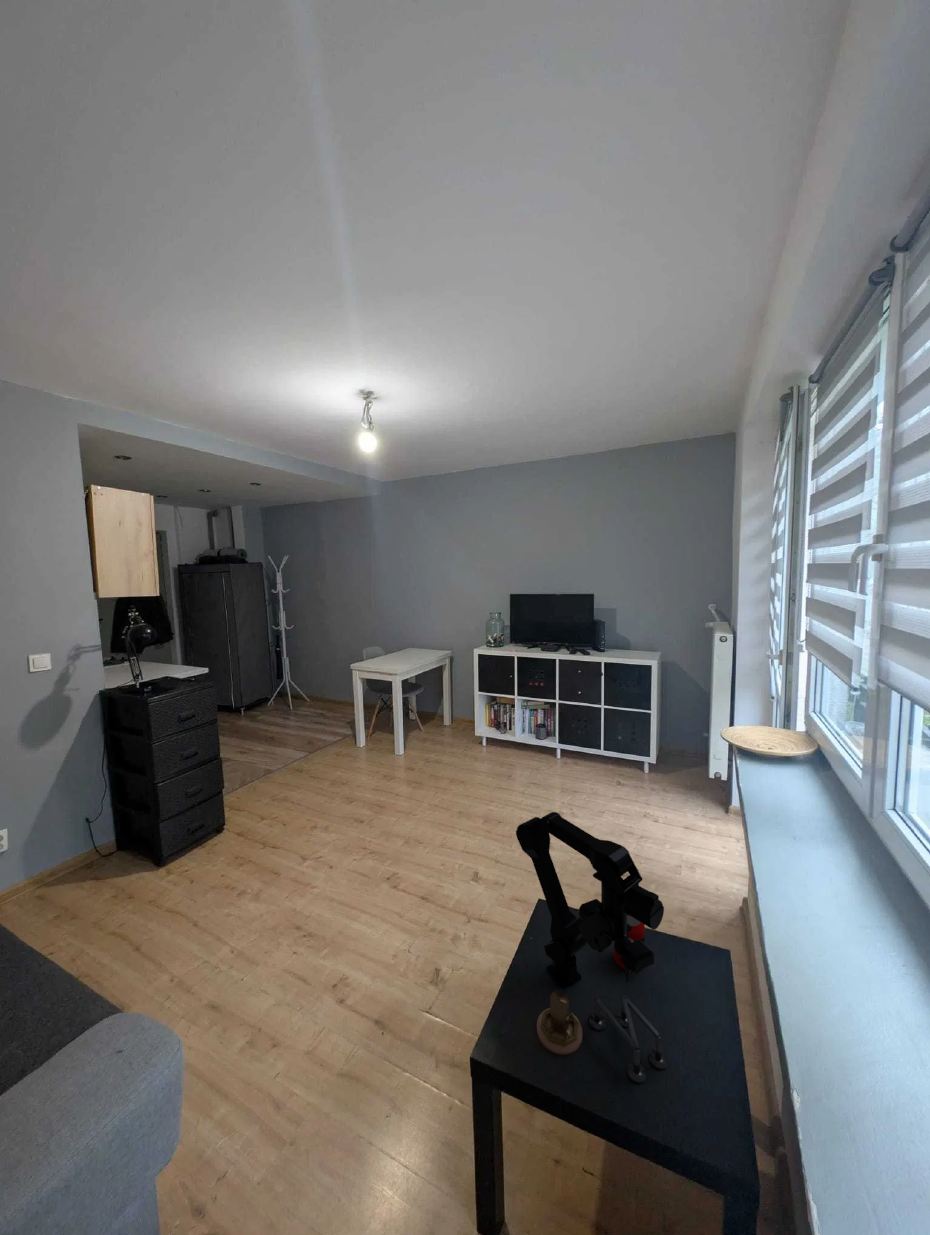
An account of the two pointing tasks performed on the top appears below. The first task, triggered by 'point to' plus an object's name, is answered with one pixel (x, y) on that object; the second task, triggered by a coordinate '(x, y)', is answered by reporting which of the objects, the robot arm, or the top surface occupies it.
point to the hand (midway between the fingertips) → (614, 966)
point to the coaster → (555, 1047)
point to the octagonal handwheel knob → (559, 1020)
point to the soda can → (635, 934)
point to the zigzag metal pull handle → (625, 1020)
